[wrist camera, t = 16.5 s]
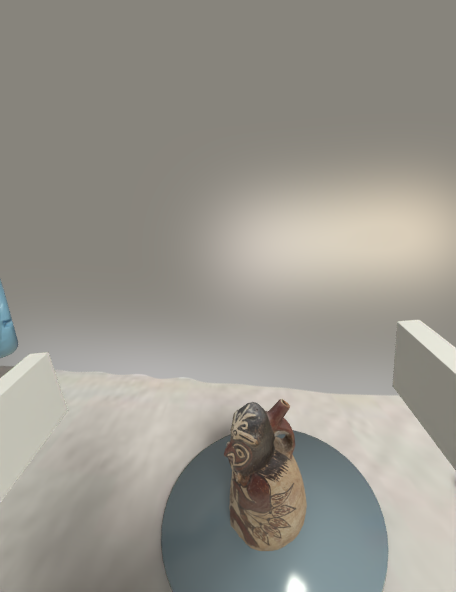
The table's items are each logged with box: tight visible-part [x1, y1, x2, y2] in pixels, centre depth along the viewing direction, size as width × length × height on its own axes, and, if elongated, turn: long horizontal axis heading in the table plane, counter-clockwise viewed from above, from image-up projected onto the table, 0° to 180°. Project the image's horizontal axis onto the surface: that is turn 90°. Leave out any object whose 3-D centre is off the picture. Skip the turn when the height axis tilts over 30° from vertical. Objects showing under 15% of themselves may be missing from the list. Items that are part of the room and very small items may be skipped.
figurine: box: [224, 399, 307, 551], centre depth 28 cm, size 7×7×12 cm
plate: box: [161, 430, 388, 592], centre depth 30 cm, size 20×20×1 cm
